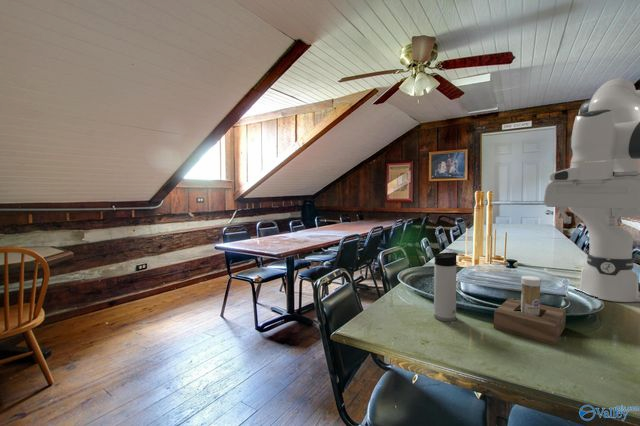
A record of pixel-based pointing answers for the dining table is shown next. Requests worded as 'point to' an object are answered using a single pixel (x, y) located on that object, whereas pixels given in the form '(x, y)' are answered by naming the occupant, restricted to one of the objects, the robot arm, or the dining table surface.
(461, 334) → the dining table surface
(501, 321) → the walnut socket block
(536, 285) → the sprinkles bottle
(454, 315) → the travel mug
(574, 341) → the dining table surface
